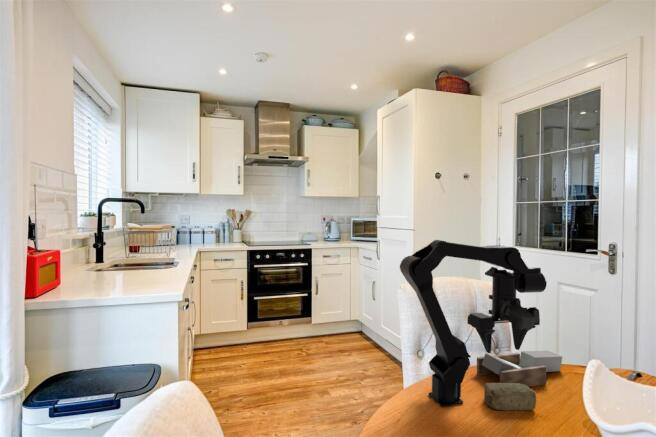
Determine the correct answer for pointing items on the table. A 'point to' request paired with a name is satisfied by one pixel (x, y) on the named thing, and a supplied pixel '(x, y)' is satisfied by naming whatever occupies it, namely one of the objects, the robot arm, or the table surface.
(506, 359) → the frame
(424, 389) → the table surface
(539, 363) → the granite pillar
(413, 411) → the table surface
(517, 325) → the robot arm
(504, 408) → the stone block
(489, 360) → the trapdoor flap
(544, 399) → the table surface
